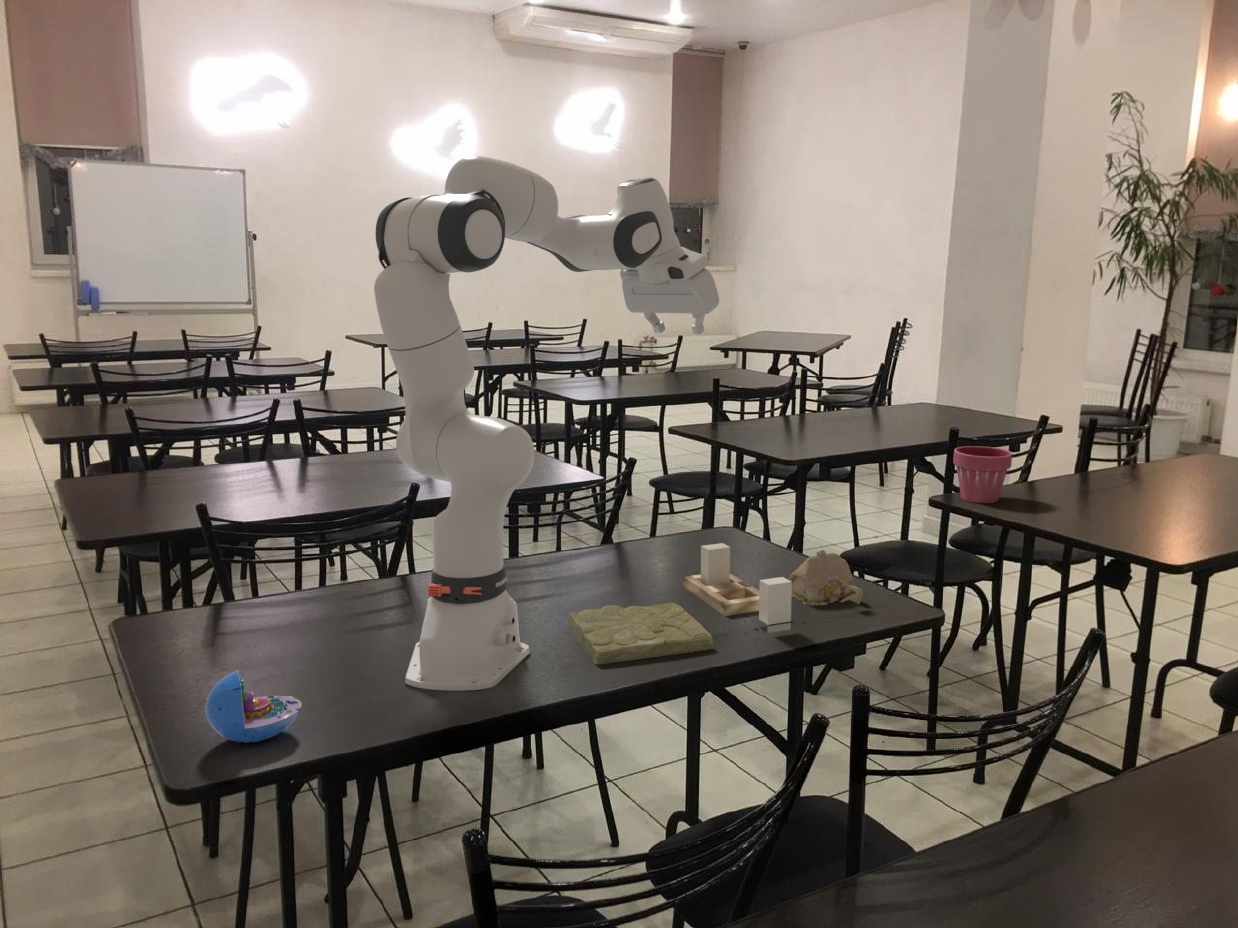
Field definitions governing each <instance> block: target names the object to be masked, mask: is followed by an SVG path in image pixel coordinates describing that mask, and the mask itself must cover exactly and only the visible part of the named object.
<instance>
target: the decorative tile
mask: <svg viewBox="0 0 1238 928" xmlns="http://www.w3.org/2000/svg"><path fill="white" fill-rule="evenodd" d="M568 628H569V630H570V631H571V633H572V635H573V636H574V637H575V639H576V640H577V642H578V643H579V644H580V646H581V647H582V649H583V650H584V652H585V653H586V654H587V655H588V657H589V658H590V659H591V661H592V663H593V664H594V665H597V666H598V665H605V664H611V663H612V664H613V663H619V662H627V661H628V662H629V661H635V660H643V658H644V659H650V658H657V657H666V656H672V655H673V656H674V655H682V654H687V653H688V652H689V653H695V652H694V651H697V652H701V651H700V650H704V651H708V650H707V649H711V650H713V649H714V643H713V641H714V640H713V636H712V635H711V633H709V631H707V629H706V628H704V626H703V625H702V624H701V623H700V622H698V621H697V620H696V619H695V618H694V617H693V616H691V614H689V613H688V612H687V611H686V610H685V609H684V608H683V607H681V605H680V604H676V603H675V602H667V603H662V604H661V603H660V604H656V605H647V606H640V605H630V606H627V607H622V606H620V605H614V604H613V605H612V604H608V605H604V606H603V607H602V608H590V609H589V608H588V609H584V610H583V611H577V612H570V613H569V619H568ZM681 653H682V654H681Z"/></svg>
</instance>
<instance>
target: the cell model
mask: <svg viewBox="0 0 1238 928" xmlns="http://www.w3.org/2000/svg"><path fill="white" fill-rule="evenodd" d="M211 688H212V689H211V690H210V691H209V693H208V694H207V697H206V702H205V707H204V708H205V710H204V711H205V716H206V719H207V722H208V723H209V725H210V726H211V728H212V729H213V730H214V731H215V732H216V733H217V734H218V735H220V736H221V737H223V738H224V739H227V740H229V741H233V742H237V743H241V742H244V743H245V744H249V743H250V742H253V743H258V742H262V740H263V741H265V739H266V740H268V739H271V738H272V737H275V736H278V735H279V734H281V732H283V731H284V730H286V729H287V728H288V727H289V726H291V725H292V723H293V722H294V721H296V719H297V717H298V715H299V712H300V710H301V707H302V702H301V701H300V700H299V699H298V698H295V697H293V696H292V695H289V696H286V695H284V696H283V695H266V696H265V695H264V696H257V697H254V692H253V690H250V691H246V690H245V682H244V677H240V670H239V669H237V670H235V671H232V672H231V673H228V674H226V675H225V676H223V677H222V678H221V679H220V680H219V681H218V682H216V683H215V684H214V686H213V687H211Z"/></svg>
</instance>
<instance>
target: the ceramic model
mask: <svg viewBox="0 0 1238 928" xmlns="http://www.w3.org/2000/svg"><path fill="white" fill-rule="evenodd" d="M788 580H789V581H791V582H792V596H791V599H796V600H798V601H801V602H802V604H803V605H809V606H826V605H827V606H828V605H829V603H834V602H837V601H838V602H840V603H844V602H847V601H851V602H853V603H855V604H857V605H860V603H861V601H862V599H863V595H864V594H863V592H864V591H863V589H862V588H860V587H857V586H855V585H851V584H850V582H853V580H854V579H853V574H852V572H851V569H850V565H849V564H848V562H847V561H846V559H844V558H842V557H841V556H840V555H839V554H838V553H836V552H835V553H834V552H830V553H826V551H825V550H824V549H823V550H820V551H819V550H818V551H816V555H812V556H809V557H807V558H806V559H805V561H804V562H803V563H802V564H800V565H799V566H798V568H796V570H793V571H792V572H791V574H790V576H789V578H788ZM840 599H841V600H840Z"/></svg>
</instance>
